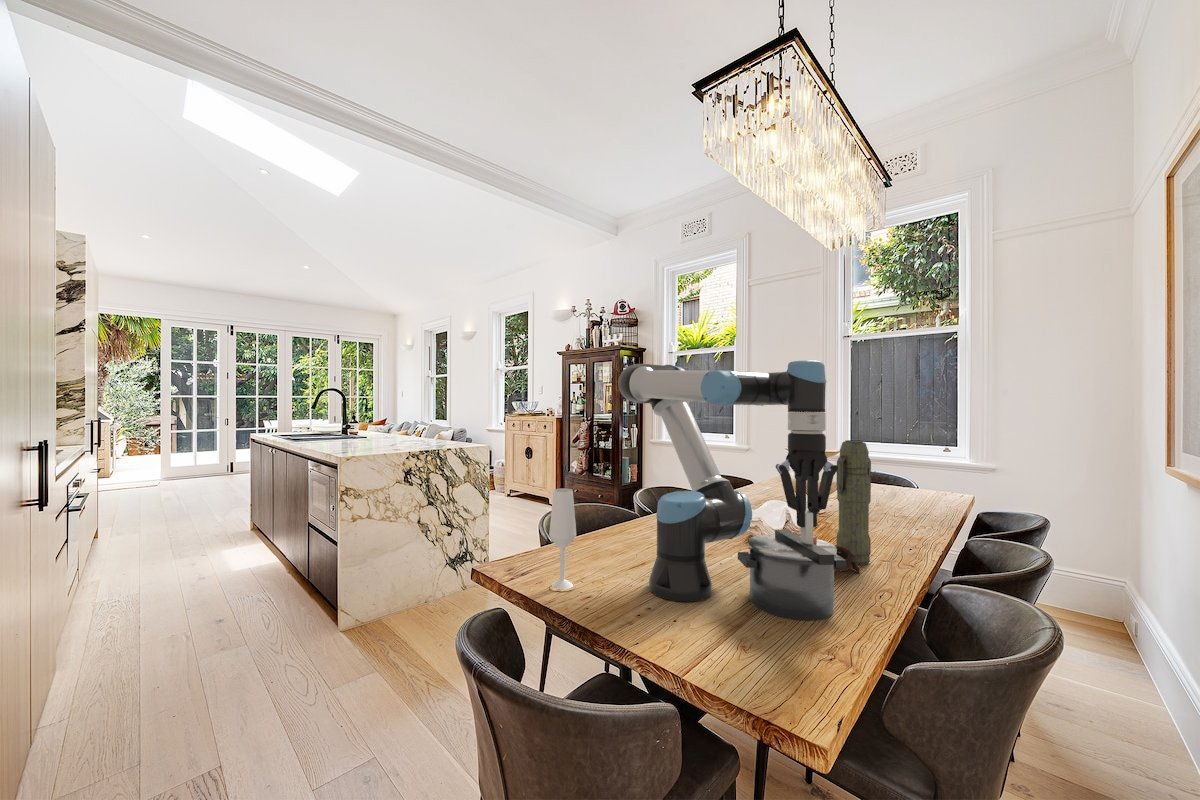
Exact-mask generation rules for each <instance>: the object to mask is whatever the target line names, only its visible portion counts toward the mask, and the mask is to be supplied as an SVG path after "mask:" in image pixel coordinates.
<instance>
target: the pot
mask: <svg viewBox="0 0 1200 800" xmlns="http://www.w3.org/2000/svg"><path fill="white" fill-rule="evenodd" d="M737 560H739V561H738V562H740V563H741V564H742V565H743V566H744V567H745V568H748V569H749V600H750V602H752V603H751V604H754V605H755V606H754V605H753V606H754V607H756V608H757V609H758V610H760V609H761V611H762V610H763V612H765V613H766V612H767V613H766V614H769V615H771V614H772V615H771V616H775V617H777V618H782V619H786V620H791V621H802V622H803V621H805V622H811V621H812V622H813V621H821V620H822V621H823V620H825V619H828V618H831V616H832V615H833V614H834V609H835V602H834V601H835V572H834V567H836V568H846V560H845V559H843V558H842V557H840V556H838V555H836V556H835V557H834V565H819V564H817V563H815V562H814V561H799V560H788V559H781V558H775V557H770V556H766V555H763V554H760V553H757V552H755V551H752V550H751V549H750V548H749V552H748V551H738V552H737Z"/></svg>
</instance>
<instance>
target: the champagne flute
mask: <svg viewBox="0 0 1200 800" xmlns="http://www.w3.org/2000/svg"><path fill="white" fill-rule="evenodd" d="M573 490H574V489H571V488H563V487H562V488H561V487H560V488H555V489H553V494H552V501H551V503H552V505H551V513H550V525H549V531H548V532H549V534H548V535H549V536H548V537H549V538H550V540H551V542H552V543H554V544H555V545H556V547H558V548H559V550H560V552H559V553H560V554H559V556H560V558H559V562H560V563H559V565H560V566H559V568H560V569H559V577H560V578H559V579H558V580H556V581H554V582H553V583H551V584H552V587H553V588H556V589H557V588H558V589H569V588H571V587H573V584H574V583H573V582H571V581H569V580H567V579H566V576H565V575H566V572H565V571H566V548H567V547H569V546H570V545H571V544H572V543H573V542H574V541H575V539H576V537H577V526H576V524H577V523H576V514H575V513H576V512H575V503H574V502H575V501H574V491H573ZM572 583H573V584H572Z"/></svg>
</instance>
